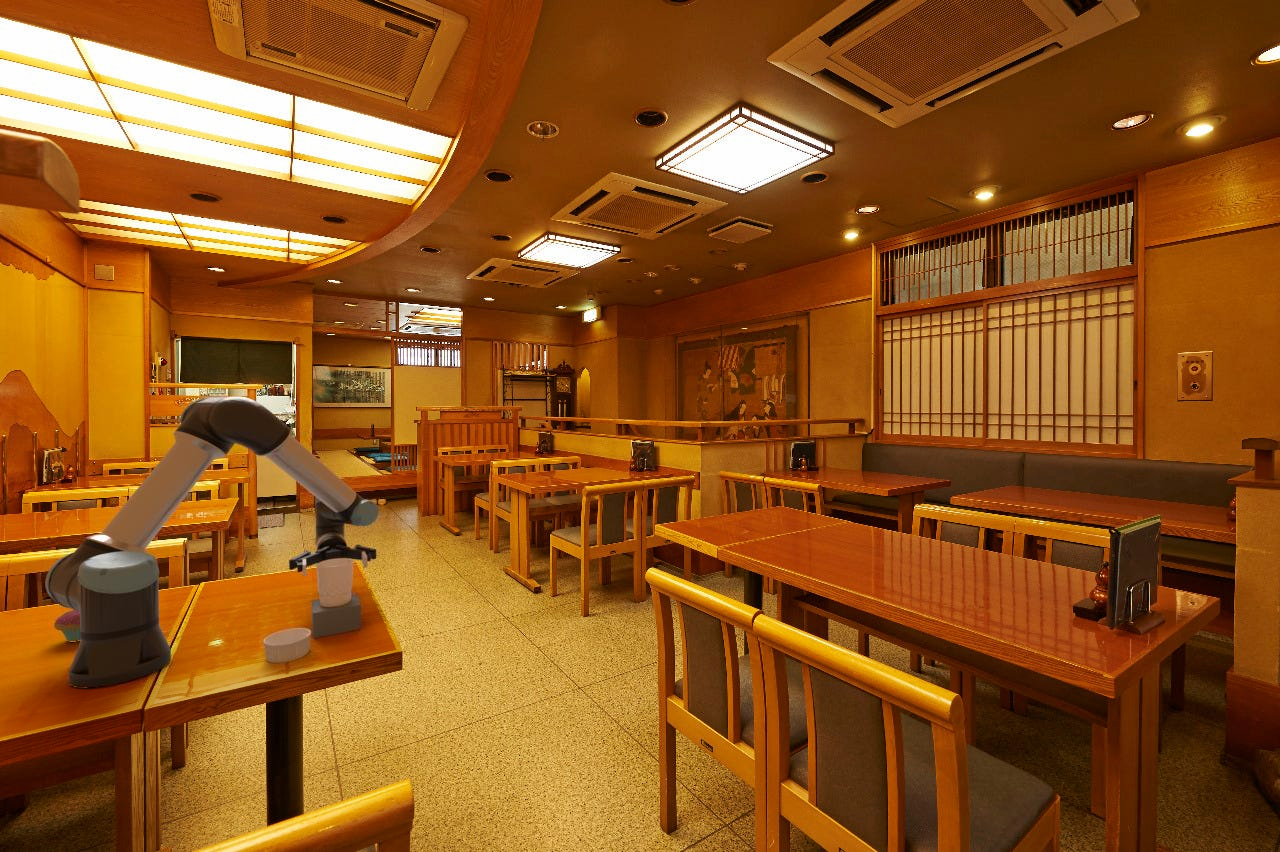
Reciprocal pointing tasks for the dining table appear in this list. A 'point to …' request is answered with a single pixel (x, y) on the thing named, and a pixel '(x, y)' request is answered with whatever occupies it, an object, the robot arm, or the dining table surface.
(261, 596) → the dining table surface
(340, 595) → the white cup
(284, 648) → the ramekin
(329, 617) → the gray rectangular block
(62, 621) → the cupcake
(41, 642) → the dining table surface
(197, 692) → the dining table surface
